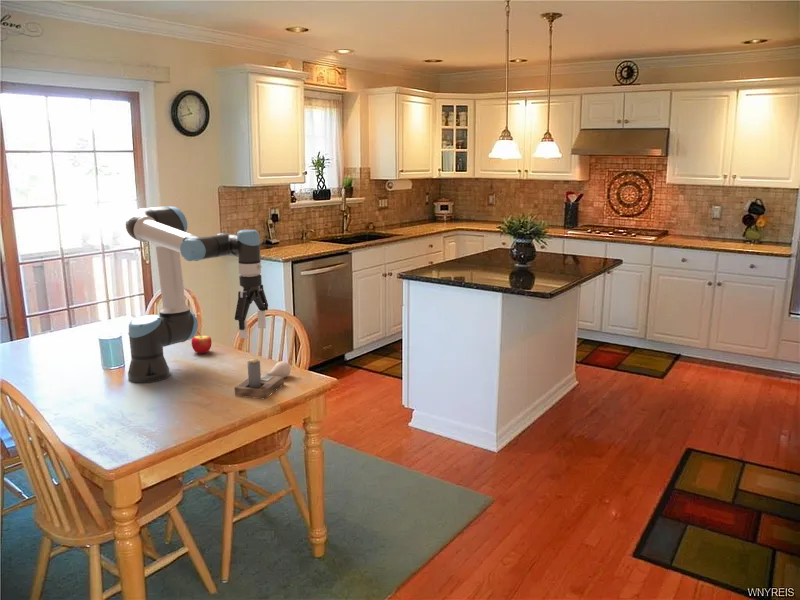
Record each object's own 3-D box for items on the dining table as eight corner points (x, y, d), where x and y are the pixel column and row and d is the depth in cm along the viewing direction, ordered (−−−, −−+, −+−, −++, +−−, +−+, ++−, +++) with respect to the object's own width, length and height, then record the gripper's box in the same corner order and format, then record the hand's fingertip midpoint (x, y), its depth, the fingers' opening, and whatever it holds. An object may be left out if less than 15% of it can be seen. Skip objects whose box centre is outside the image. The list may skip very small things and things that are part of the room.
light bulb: (264, 371, 242) (289, 358, 247) (258, 370, 247) (283, 357, 253) (271, 387, 243) (296, 374, 248) (265, 385, 249) (289, 372, 254)
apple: (188, 353, 278) (186, 330, 276) (205, 348, 284) (204, 327, 282) (198, 357, 273) (196, 334, 270) (215, 352, 279) (214, 330, 277)
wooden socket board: (235, 395, 231) (234, 386, 230) (255, 381, 245) (254, 373, 244) (265, 398, 228) (264, 390, 227) (283, 384, 242) (283, 376, 241)
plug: (246, 394, 231) (245, 361, 228) (252, 390, 236) (251, 357, 233) (257, 395, 230) (256, 362, 227) (263, 391, 234) (262, 358, 231)
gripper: (242, 282, 211) (245, 343, 215) (276, 268, 234) (278, 324, 239) (221, 280, 212) (225, 341, 217) (257, 267, 236) (260, 323, 241)
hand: (253, 333), depth 228 cm, fingers open, 13 cm apart
